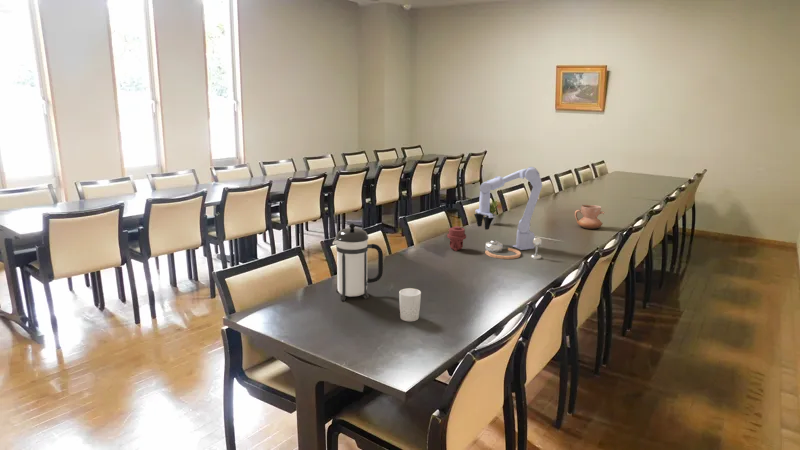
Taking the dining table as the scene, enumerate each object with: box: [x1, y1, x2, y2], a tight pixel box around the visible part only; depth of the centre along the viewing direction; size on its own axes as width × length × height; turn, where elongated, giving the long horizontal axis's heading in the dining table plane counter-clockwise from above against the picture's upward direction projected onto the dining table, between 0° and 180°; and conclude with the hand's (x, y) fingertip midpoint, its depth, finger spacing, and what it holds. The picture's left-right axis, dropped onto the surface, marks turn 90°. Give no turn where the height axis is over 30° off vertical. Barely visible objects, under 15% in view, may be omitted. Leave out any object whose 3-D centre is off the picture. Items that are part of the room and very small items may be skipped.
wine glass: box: [530, 236, 543, 260], centre depth 262 cm, size 5×5×11 cm
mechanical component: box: [446, 225, 467, 252], centre depth 275 cm, size 12×10×10 cm
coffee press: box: [332, 222, 384, 302], centre depth 205 cm, size 17×16×30 cm
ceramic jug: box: [574, 204, 605, 230], centre depth 330 cm, size 18×14×14 cm
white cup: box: [398, 287, 422, 322], centre depth 186 cm, size 8×8×10 cm
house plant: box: [489, 200, 499, 226], centre depth 336 cm, size 14×14×16 cm
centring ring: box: [484, 247, 522, 260], centre depth 268 cm, size 18×14×1 cm
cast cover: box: [485, 239, 504, 253], centre depth 276 cm, size 9×9×5 cm
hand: (483, 227), depth 285 cm, fingers open, 7 cm apart
